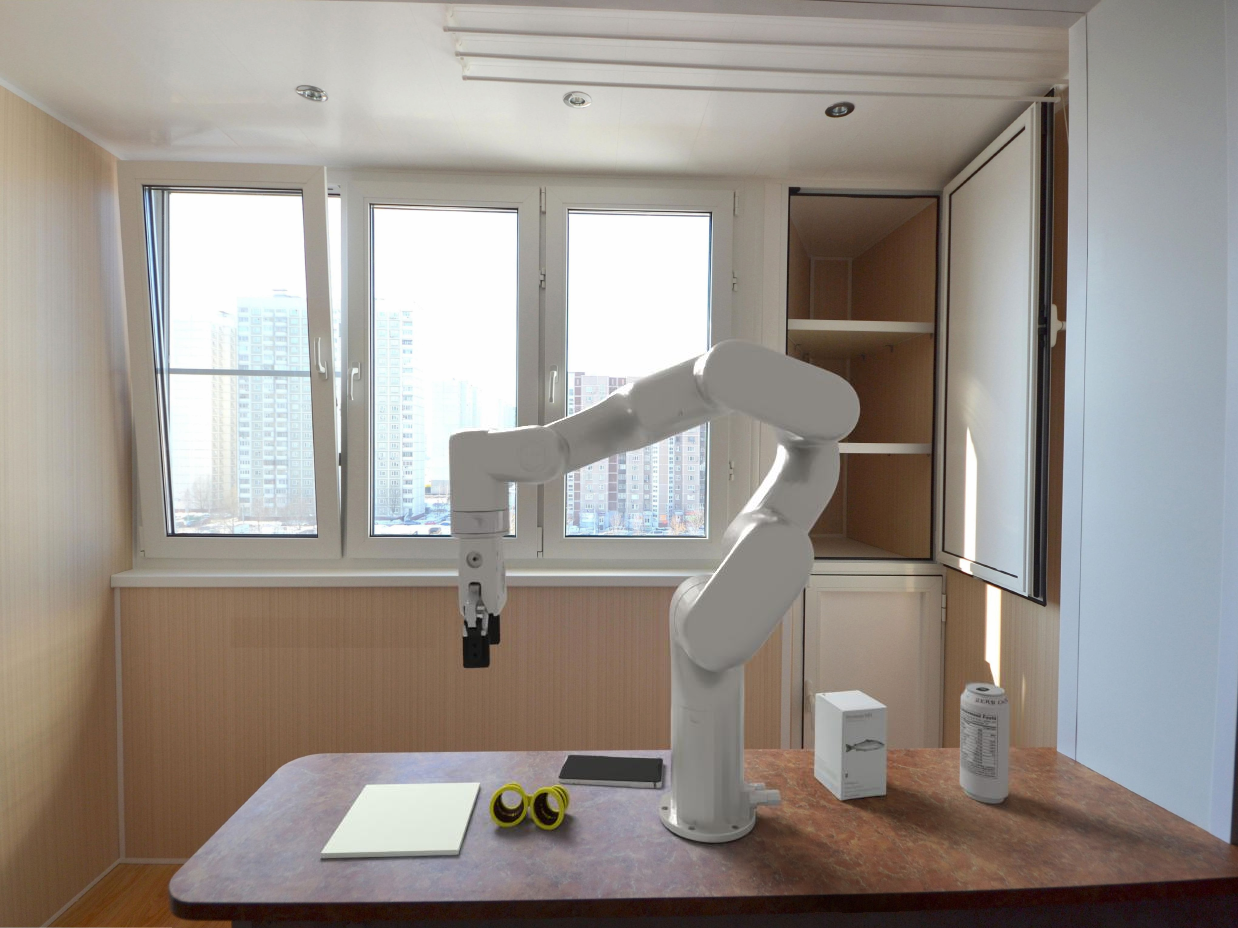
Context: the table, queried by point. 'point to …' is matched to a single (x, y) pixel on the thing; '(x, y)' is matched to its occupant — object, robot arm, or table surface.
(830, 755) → the supplement box
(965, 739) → the energy drink can
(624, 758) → the smartphone
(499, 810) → the opera glasses
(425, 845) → the mat
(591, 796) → the table surface
